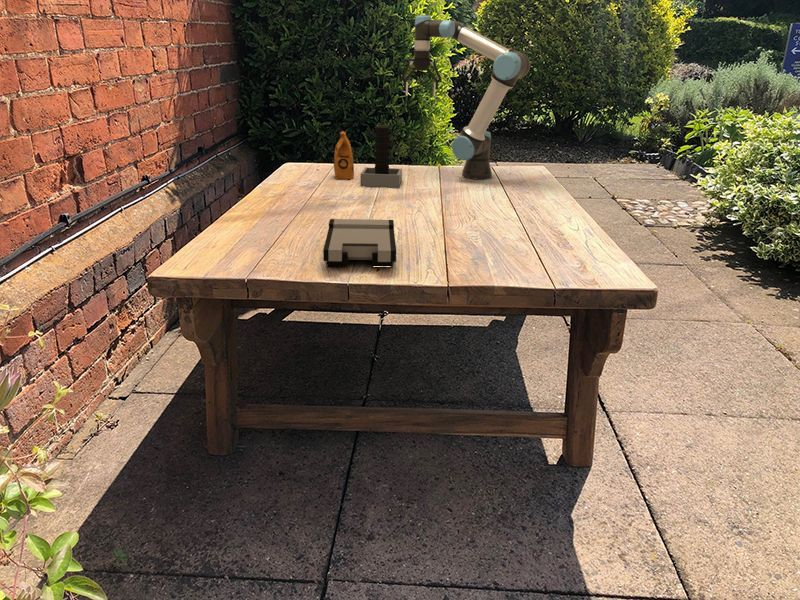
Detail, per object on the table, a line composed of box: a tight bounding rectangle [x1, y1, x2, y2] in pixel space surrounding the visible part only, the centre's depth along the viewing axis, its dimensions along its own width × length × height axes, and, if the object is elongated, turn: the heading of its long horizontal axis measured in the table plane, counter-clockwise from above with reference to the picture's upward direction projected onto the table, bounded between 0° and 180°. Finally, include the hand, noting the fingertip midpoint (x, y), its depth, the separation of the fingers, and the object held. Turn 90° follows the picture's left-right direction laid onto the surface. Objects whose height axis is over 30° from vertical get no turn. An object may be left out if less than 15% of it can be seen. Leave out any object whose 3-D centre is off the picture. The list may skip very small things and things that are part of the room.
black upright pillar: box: [374, 124, 391, 174], centre depth 317 cm, size 10×26×10 cm
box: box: [359, 167, 403, 189], centre depth 321 cm, size 18×18×6 cm
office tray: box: [322, 218, 397, 268], centre depth 208 cm, size 21×32×8 cm, turn 2°
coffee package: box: [333, 130, 355, 180], centre depth 330 cm, size 10×12×22 cm
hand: (420, 96), depth 333 cm, fingers open, 13 cm apart
